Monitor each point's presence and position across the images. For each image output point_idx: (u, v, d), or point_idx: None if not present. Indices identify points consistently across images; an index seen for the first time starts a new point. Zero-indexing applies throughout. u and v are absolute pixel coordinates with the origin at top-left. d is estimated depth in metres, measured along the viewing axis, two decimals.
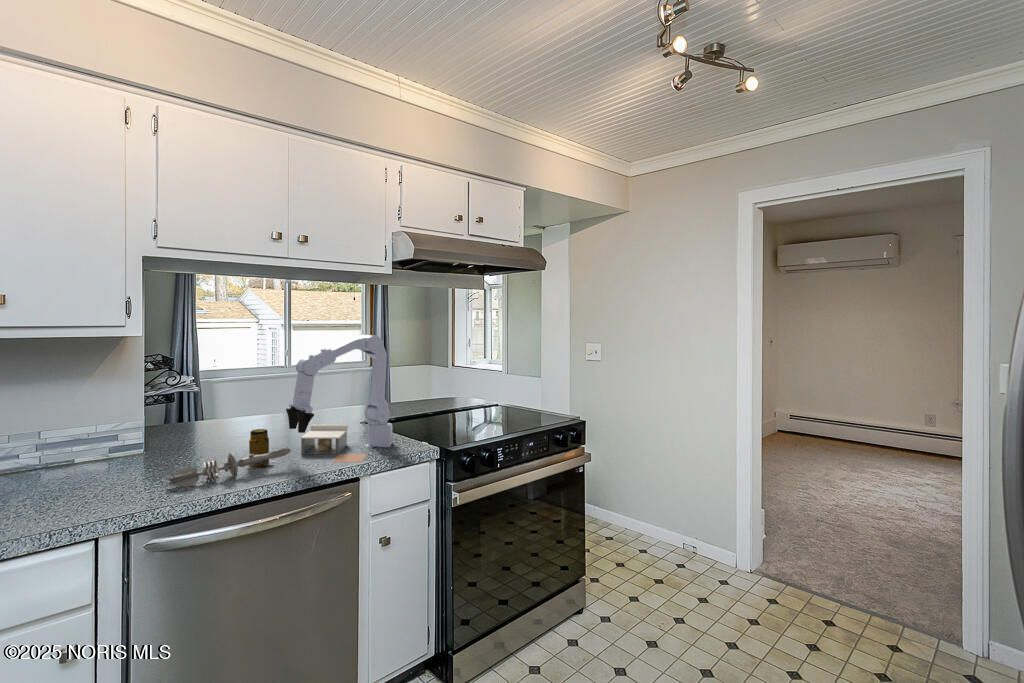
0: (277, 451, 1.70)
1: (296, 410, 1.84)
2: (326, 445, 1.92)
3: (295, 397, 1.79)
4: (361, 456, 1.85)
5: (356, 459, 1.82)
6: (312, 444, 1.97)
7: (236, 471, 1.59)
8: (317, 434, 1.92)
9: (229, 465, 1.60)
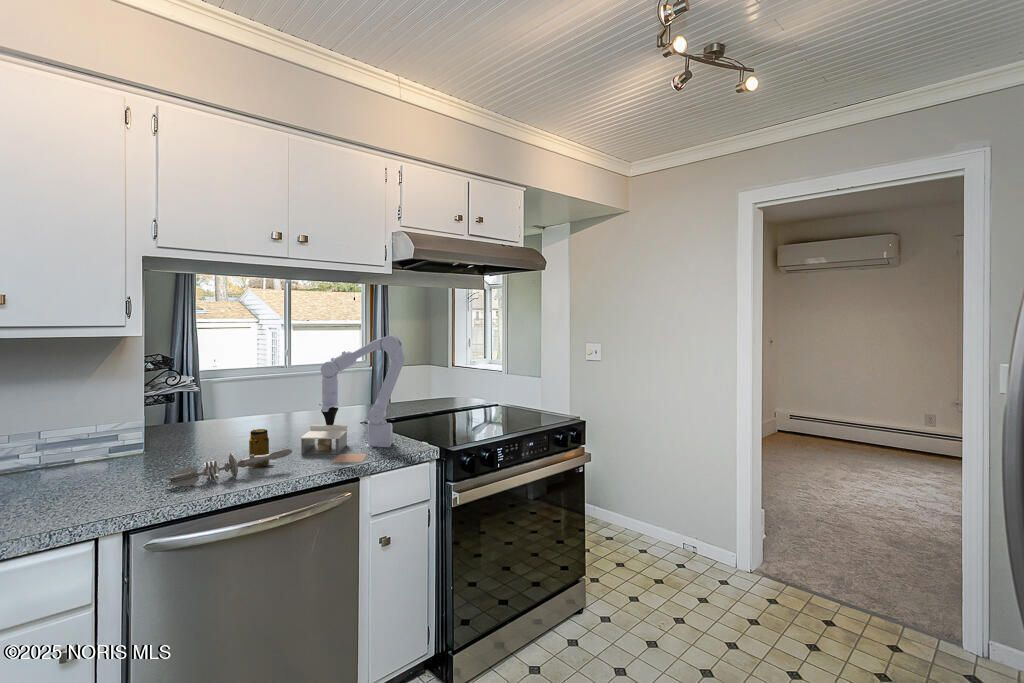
0: (278, 452, 1.69)
1: None
2: (326, 445, 1.92)
3: (322, 397, 1.99)
4: (361, 456, 1.85)
5: (356, 459, 1.82)
6: (312, 444, 1.97)
7: (236, 472, 1.58)
8: (317, 434, 1.91)
9: (229, 465, 1.60)
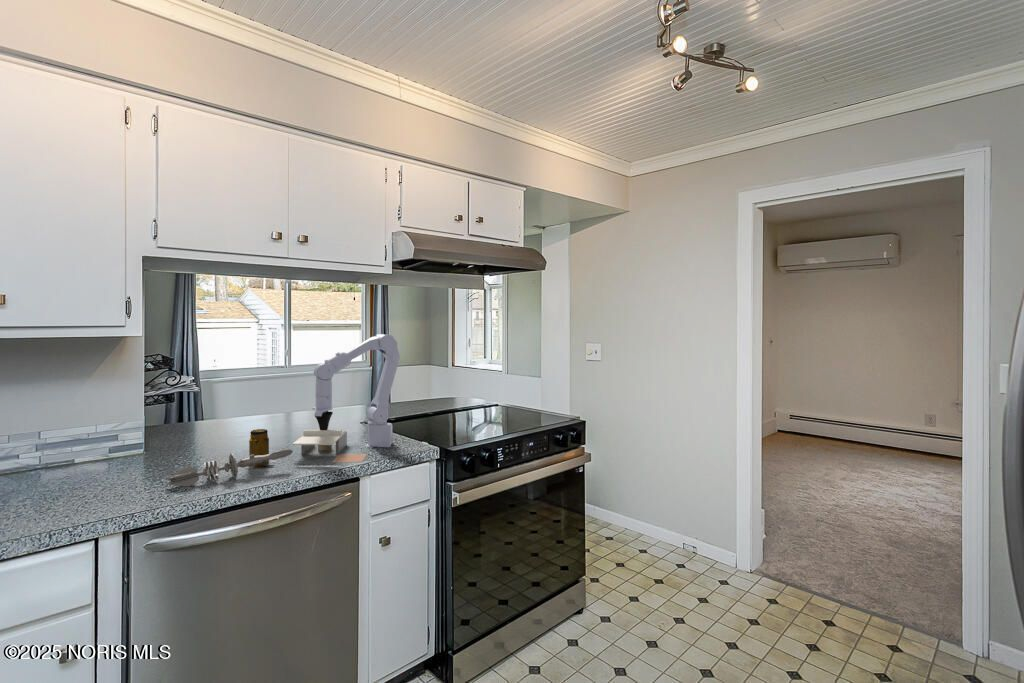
0: (278, 452, 1.68)
1: None
2: (326, 445, 1.92)
3: None
4: (361, 456, 1.85)
5: (356, 459, 1.82)
6: None
7: (236, 472, 1.58)
8: (310, 440, 1.83)
9: (229, 465, 1.60)
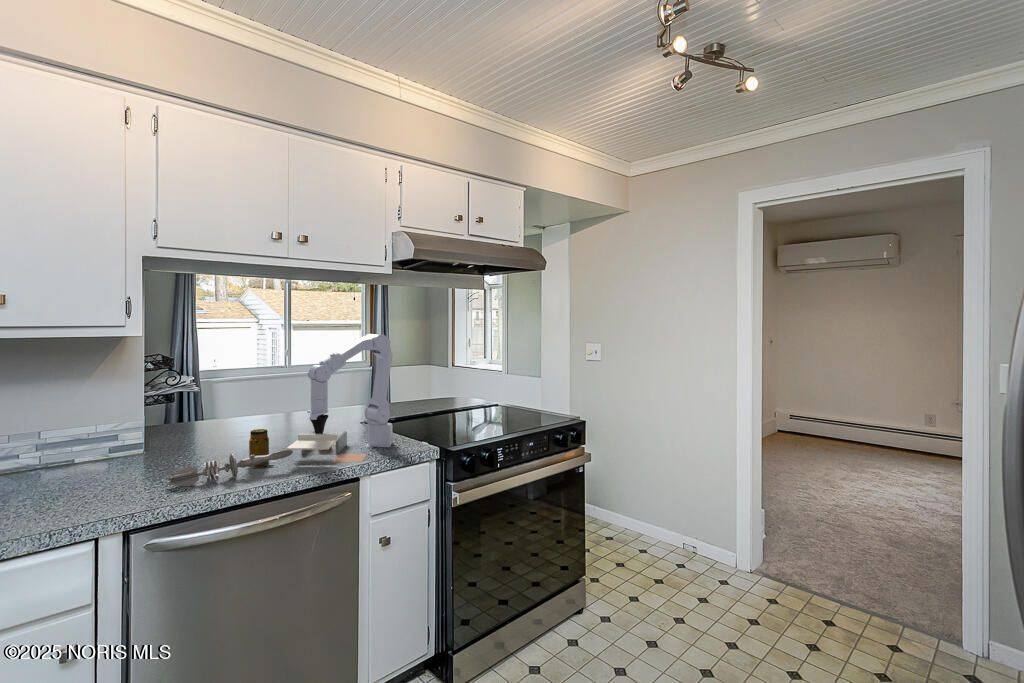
0: (279, 452, 1.68)
1: None
2: None
3: None
4: (361, 456, 1.85)
5: (356, 459, 1.82)
6: None
7: (236, 472, 1.58)
8: (304, 444, 1.77)
9: (229, 466, 1.60)
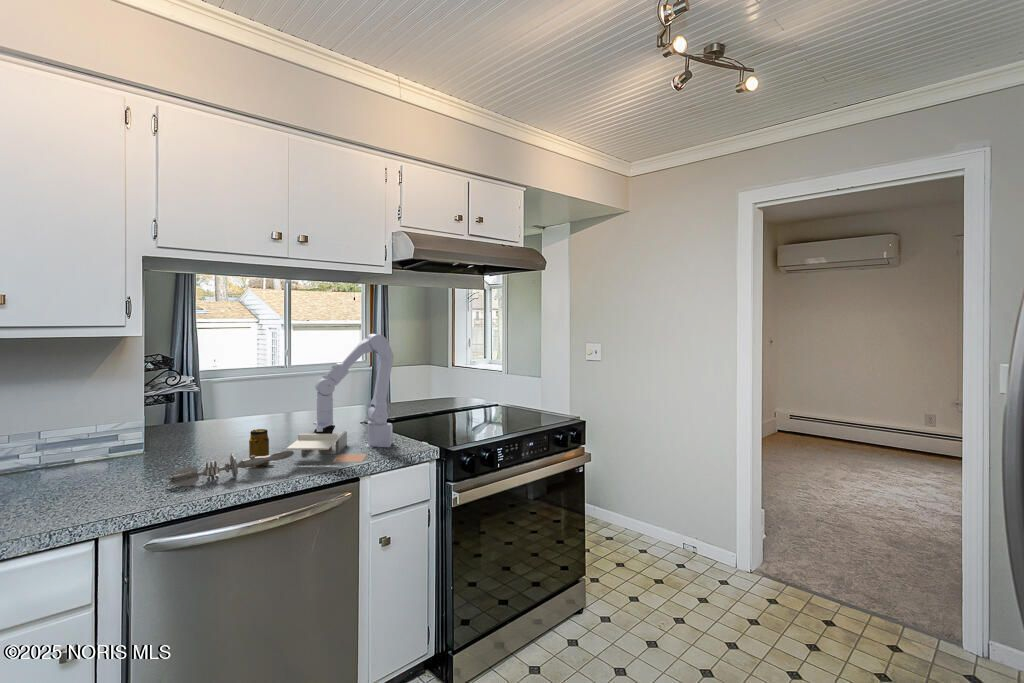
0: (279, 453, 1.67)
1: (327, 427, 1.96)
2: None
3: None
4: (361, 456, 1.85)
5: (356, 459, 1.82)
6: None
7: (235, 472, 1.57)
8: (304, 444, 1.77)
9: (230, 466, 1.59)
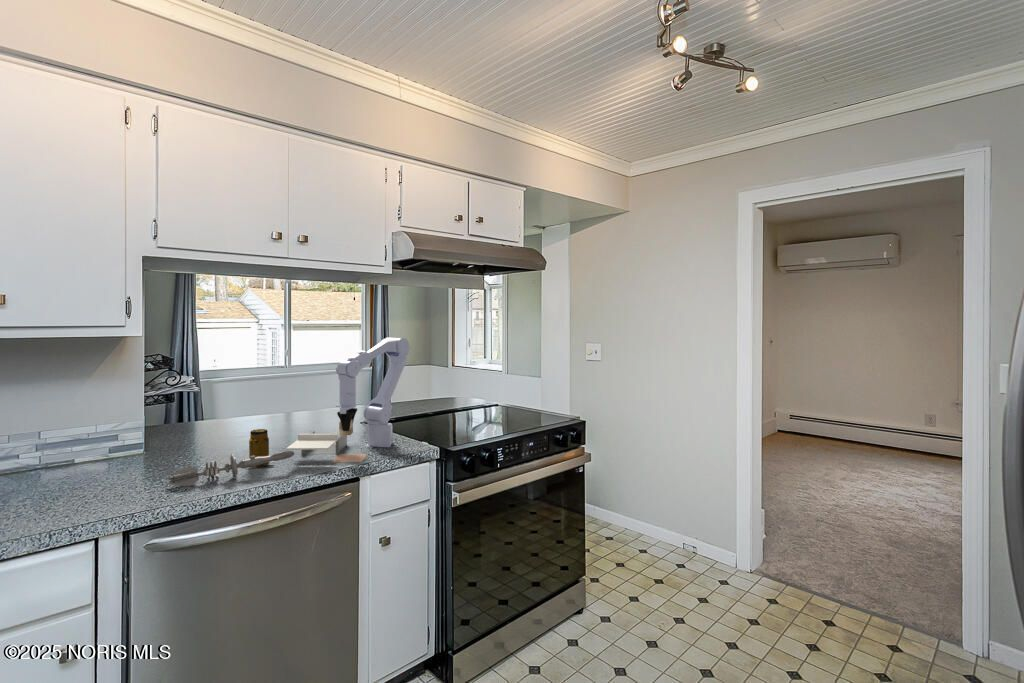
0: (280, 454, 1.67)
1: (349, 410, 1.93)
2: None
3: None
4: (361, 456, 1.85)
5: (356, 459, 1.82)
6: None
7: (235, 473, 1.57)
8: (304, 444, 1.77)
9: (230, 466, 1.59)
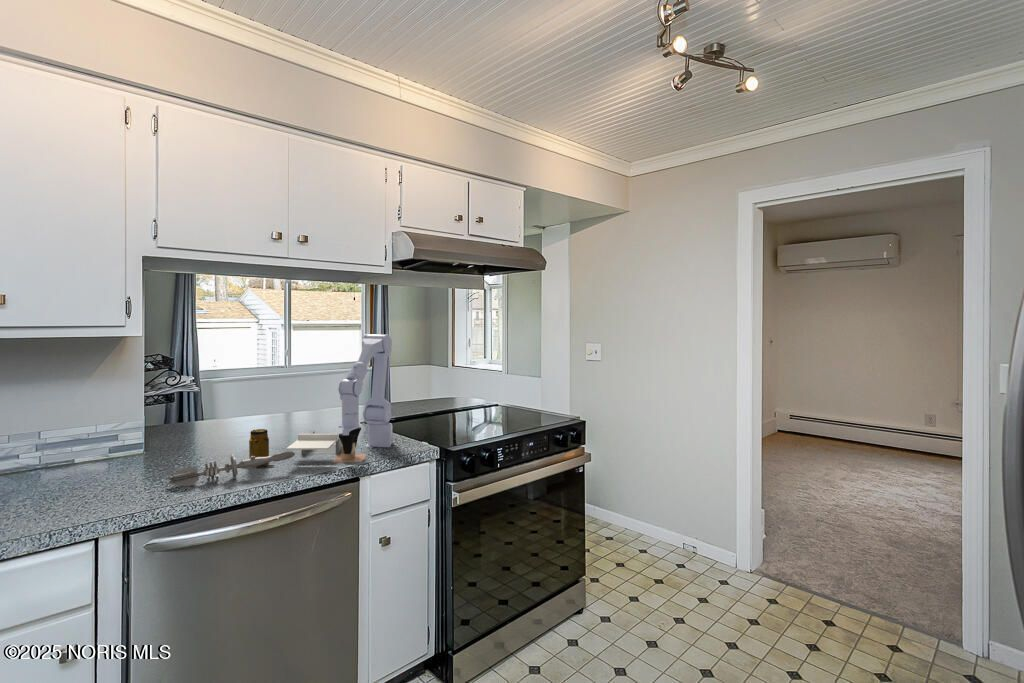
0: (280, 454, 1.66)
1: (353, 430, 1.86)
2: None
3: (342, 418, 1.82)
4: (361, 456, 1.85)
5: (356, 459, 1.82)
6: None
7: (235, 473, 1.57)
8: (304, 444, 1.77)
9: (230, 466, 1.59)
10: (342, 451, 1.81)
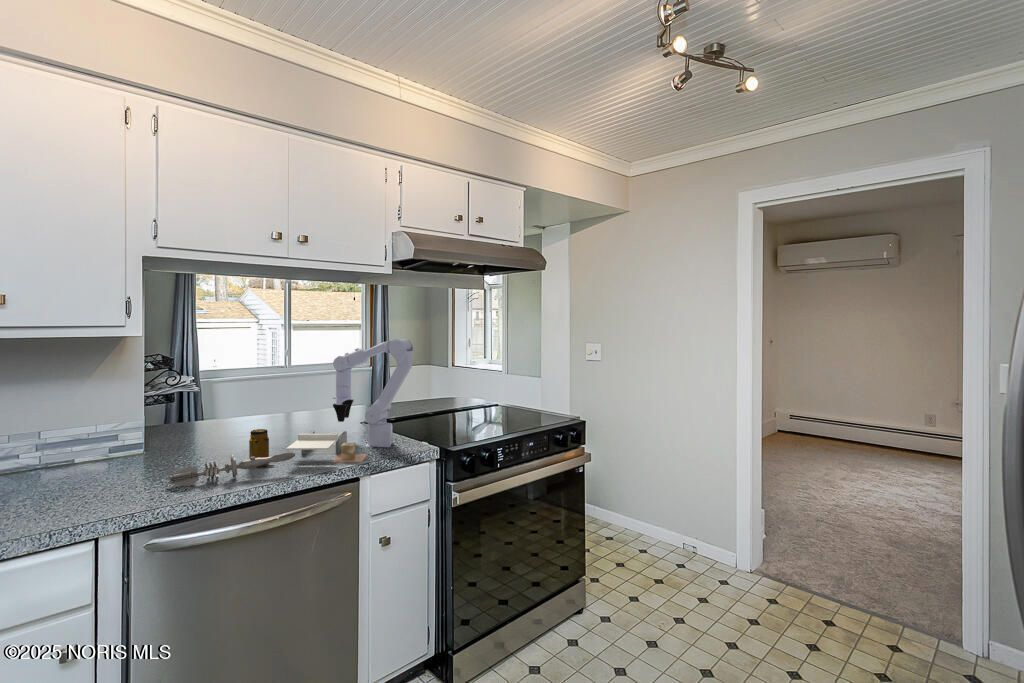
0: (280, 455, 1.65)
1: (346, 401, 2.09)
2: (349, 453, 1.81)
3: (336, 390, 2.04)
4: (361, 456, 1.85)
5: (356, 459, 1.82)
6: None
7: (234, 473, 1.57)
8: (304, 444, 1.77)
9: (229, 467, 1.59)
10: (342, 451, 1.81)
